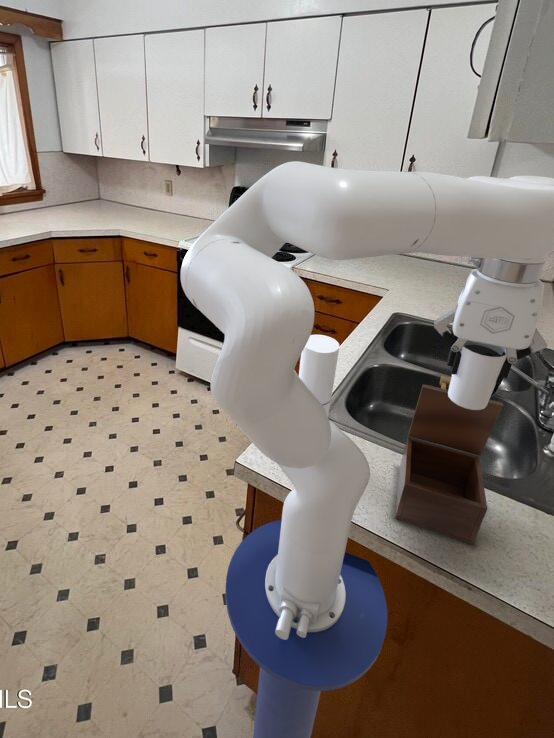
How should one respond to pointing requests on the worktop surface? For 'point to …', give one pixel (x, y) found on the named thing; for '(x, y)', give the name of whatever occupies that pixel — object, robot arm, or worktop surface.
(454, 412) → the lid
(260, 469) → the worktop surface
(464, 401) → the white cup
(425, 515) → the chest
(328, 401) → the cylindrical container
